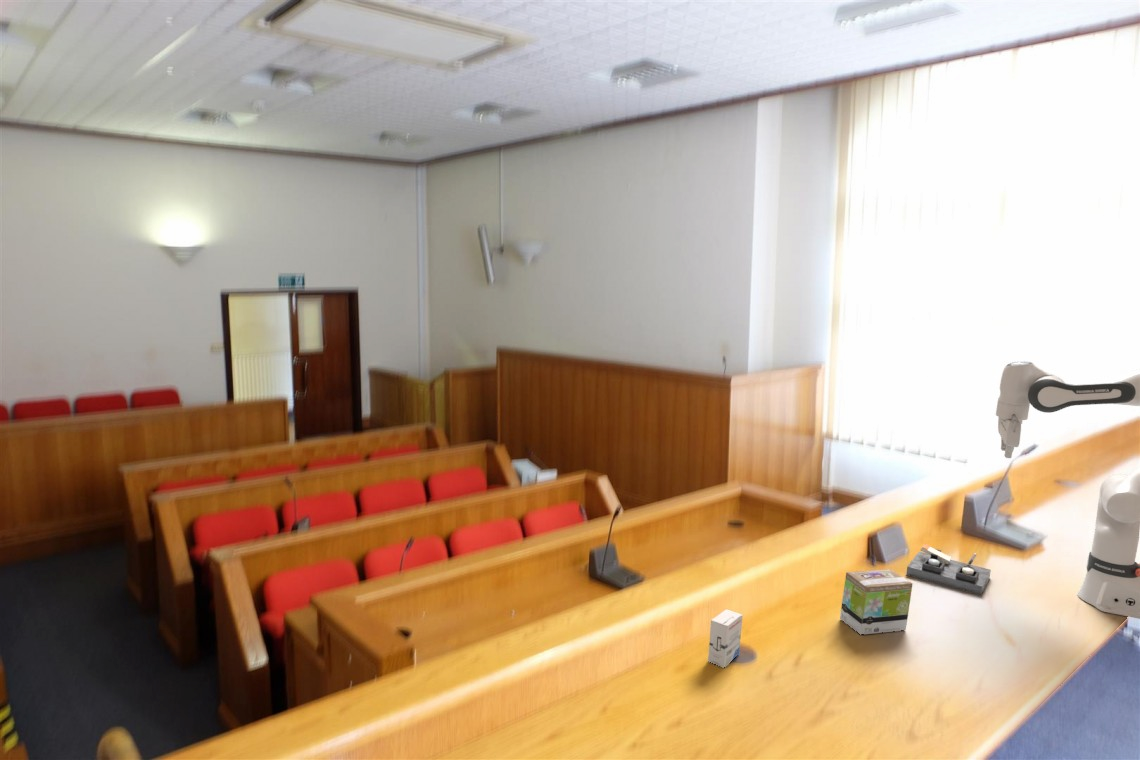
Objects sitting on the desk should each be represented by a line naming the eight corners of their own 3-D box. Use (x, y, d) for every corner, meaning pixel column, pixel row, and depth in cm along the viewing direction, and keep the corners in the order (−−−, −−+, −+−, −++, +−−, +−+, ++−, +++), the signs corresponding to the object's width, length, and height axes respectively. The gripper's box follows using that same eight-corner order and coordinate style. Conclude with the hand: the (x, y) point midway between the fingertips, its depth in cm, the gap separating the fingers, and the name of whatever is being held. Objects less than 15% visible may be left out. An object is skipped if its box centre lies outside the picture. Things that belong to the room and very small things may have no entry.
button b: (940, 564, 249) (940, 560, 248) (937, 567, 246) (938, 563, 246) (929, 561, 250) (929, 558, 250) (927, 564, 248) (927, 561, 248)
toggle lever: (969, 566, 250) (977, 554, 248) (969, 567, 249) (977, 555, 247) (966, 564, 250) (974, 552, 248) (965, 565, 249) (973, 553, 248)
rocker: (948, 563, 255) (951, 556, 254) (946, 566, 252) (949, 560, 251) (921, 549, 259) (924, 543, 259) (919, 553, 256) (922, 546, 256)
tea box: (861, 637, 209) (866, 586, 207) (839, 619, 219) (844, 571, 216) (907, 631, 213) (913, 582, 211) (883, 614, 223) (889, 566, 220)
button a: (974, 572, 243) (974, 569, 243) (972, 576, 240) (972, 572, 240) (963, 570, 245) (963, 566, 244) (961, 573, 242) (961, 569, 242)
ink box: (722, 648, 201) (726, 607, 199) (740, 655, 198) (743, 613, 196) (706, 662, 194) (709, 619, 192) (724, 669, 191) (727, 626, 189)
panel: (989, 578, 250) (991, 561, 249) (981, 595, 237) (983, 578, 236) (917, 559, 263) (919, 543, 262) (906, 575, 250) (908, 558, 249)
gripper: (1028, 419, 232) (1021, 463, 234) (1018, 407, 250) (1012, 447, 253) (1005, 417, 234) (998, 460, 237) (997, 404, 253) (991, 445, 255)
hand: (1005, 453), depth 245 cm, fingers open, 8 cm apart
